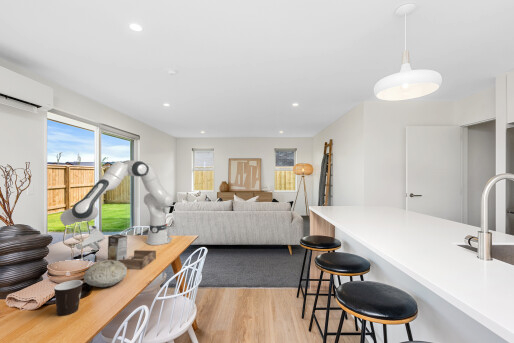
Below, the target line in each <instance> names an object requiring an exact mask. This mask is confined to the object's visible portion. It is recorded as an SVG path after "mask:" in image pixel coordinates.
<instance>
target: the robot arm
mask: <svg viewBox="0 0 514 343" xmlns="http://www.w3.org/2000/svg"><path fill="white" fill-rule="evenodd" d="M126 176H130V177H140V178H141V181H142V184H143V186H144V188H145V190H146V191H147V192H148V193H146V194H145V195H144V197H143V203H144V204H145V205H146V206H147V208H148V211H149V215H150V217H149V218H150V221H149V222H150V223H149V231H148V232H147V238H146V240H145V244H148V245H150V246H151V245H152V246H159V245H164V244H170V243H171V241H172V240H173V237H172V236H170V231H169V230H168V228H167V226H168V223H166V219H167V217H166V216H167V215H166V213H165V212H164V211H163V209H162V208H168V207H172V205H173V203H174V200H175V199H174V196H173V195H172V194H170V193H169V192H168V191H167V190H166V189H165V188H164V186H163V185H162V184H161V182H160V179H159V177H158V174H157V171H156V170H155V169H154V167H153V165H152V164H150V163H145V162H143V161H141V160H135V159H134V160H124V161H116V162H114V163H112V164H111V166H109V167H108V169H106V171H104V173H103V175H102V177H101V178H100V179H99V180H98V181H97V182H96V183H95V184H94V186H92V188H91V189H90V190H89V191H88V192H87V194H86V195H85V196H84V197H83V198H82V199H80V200H79V201H77V202H75V203H74V204H73V206H72V208H67V209H65V210H64V211H63V212H62V213H61V215H60V216H59V217H60V218H59V219H60V221H61V223H62V225H63V226H64V227H65V226H66V225H71V224H74V223H75V222H82V221H88V222H91V221H93V220H94V219H96V218H97V216H98V214H99V210H98V208H97V207H96V206H95V203H96V202H97V201H98V200H99V199H100V197H101V196H102V195H103V194H104V193H105V192H107V191H113V190H116V188H117V187H119V185H120V184H121V183H122V181H123V180H124V179H125V177H126ZM88 222H87V223H88ZM88 225H89V229H90V237H89V238H88V239H86V240H85V241H84V242H83V243H82V249H81V244H78V245H76V246H75V248H76V249H77V250H83V249H85V248H88V247H89V248H91V249H93V250H94V251H98V250H100V249H101V246H100V243H101V242H103V240H105V239H106V238H105V235H104V234H103V232H102V231H100V230H99V229H98V227H97V226H96V225H91V224H88Z"/></svg>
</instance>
